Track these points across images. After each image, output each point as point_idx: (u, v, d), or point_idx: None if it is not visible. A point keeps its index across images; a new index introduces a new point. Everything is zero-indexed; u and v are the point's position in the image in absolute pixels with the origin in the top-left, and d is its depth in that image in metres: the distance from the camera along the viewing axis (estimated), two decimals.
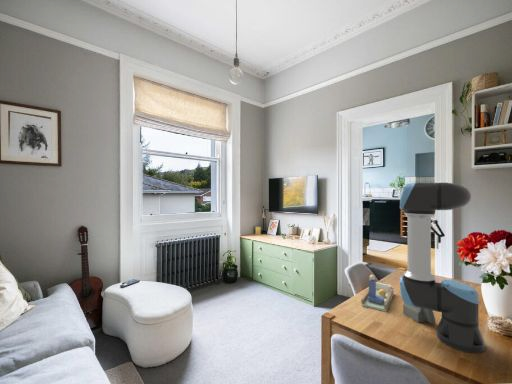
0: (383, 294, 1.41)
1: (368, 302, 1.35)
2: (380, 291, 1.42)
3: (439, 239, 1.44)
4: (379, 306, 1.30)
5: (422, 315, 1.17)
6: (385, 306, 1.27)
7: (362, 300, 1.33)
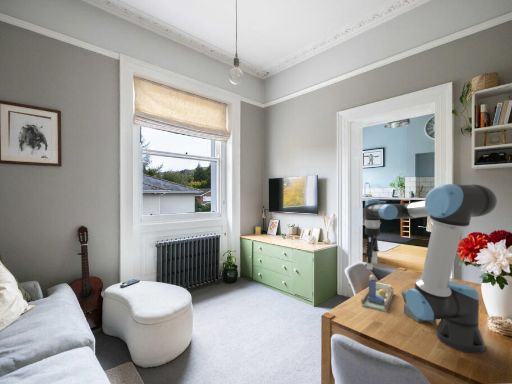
0: (383, 294, 1.41)
1: (368, 302, 1.35)
2: (380, 291, 1.42)
3: (367, 259, 1.32)
4: (379, 306, 1.30)
5: None
6: (385, 306, 1.27)
7: (362, 300, 1.33)
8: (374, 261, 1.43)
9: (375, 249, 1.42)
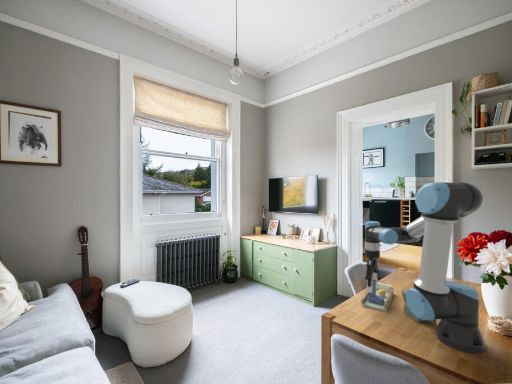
0: (383, 294, 1.41)
1: (368, 302, 1.35)
2: (380, 291, 1.42)
3: (367, 282, 1.32)
4: (379, 306, 1.30)
5: None
6: (385, 306, 1.27)
7: (362, 300, 1.33)
8: None
9: (375, 270, 1.42)
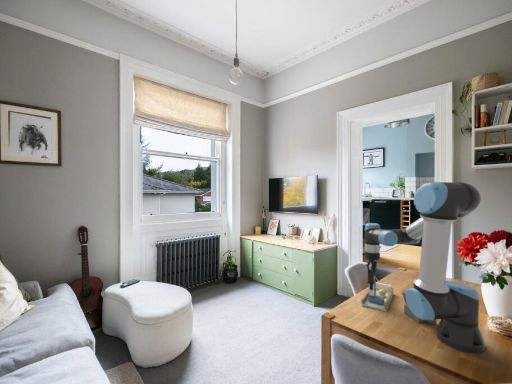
0: (383, 294, 1.41)
1: (368, 302, 1.35)
2: (380, 291, 1.42)
3: (369, 285, 1.35)
4: (379, 306, 1.30)
5: None
6: (385, 306, 1.27)
7: (362, 300, 1.33)
8: None
9: None
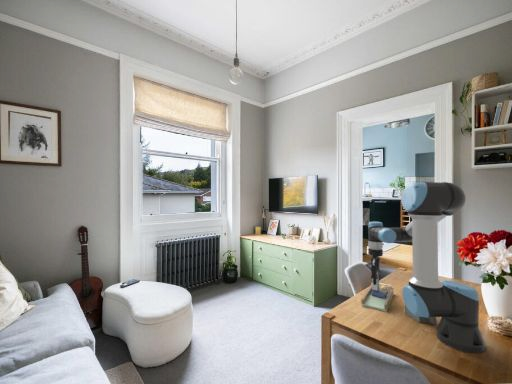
0: None
1: (368, 302, 1.35)
2: None
3: (373, 280, 1.43)
4: (379, 306, 1.30)
5: None
6: (385, 306, 1.27)
7: (362, 300, 1.33)
8: None
9: None
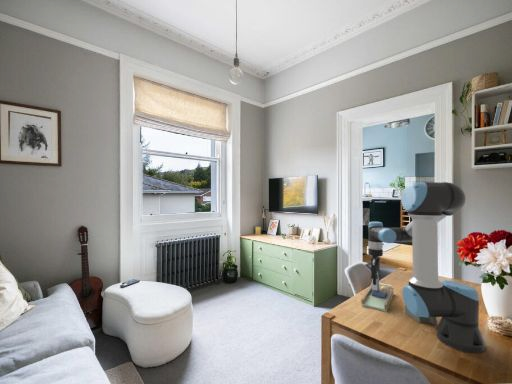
0: (385, 287, 1.47)
1: (368, 302, 1.35)
2: None
3: (373, 280, 1.43)
4: (379, 306, 1.30)
5: None
6: (385, 306, 1.27)
7: (362, 300, 1.33)
8: None
9: None
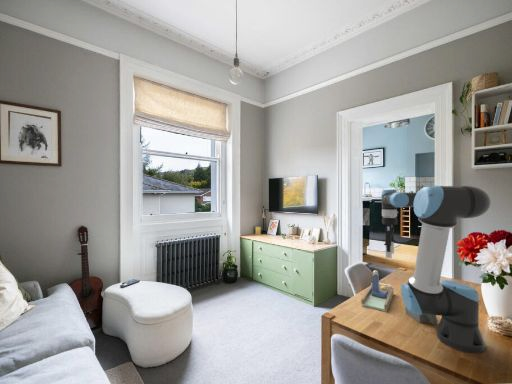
0: None
1: (368, 302, 1.35)
2: None
3: (387, 247, 1.33)
4: (379, 306, 1.30)
5: (424, 315, 1.16)
6: (385, 306, 1.27)
7: (362, 300, 1.33)
8: None
9: (392, 239, 1.44)
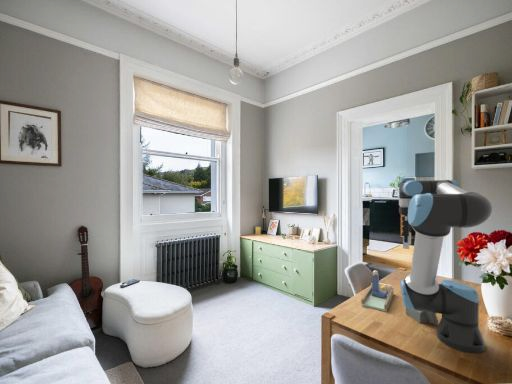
0: None
1: (368, 302, 1.35)
2: None
3: (404, 238, 1.27)
4: (379, 306, 1.30)
5: (424, 316, 1.16)
6: (385, 306, 1.27)
7: (362, 300, 1.33)
8: None
9: (409, 230, 1.38)
